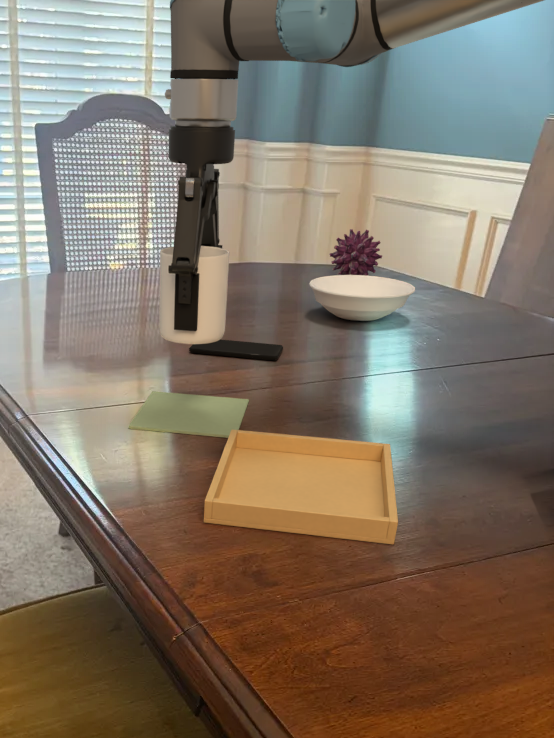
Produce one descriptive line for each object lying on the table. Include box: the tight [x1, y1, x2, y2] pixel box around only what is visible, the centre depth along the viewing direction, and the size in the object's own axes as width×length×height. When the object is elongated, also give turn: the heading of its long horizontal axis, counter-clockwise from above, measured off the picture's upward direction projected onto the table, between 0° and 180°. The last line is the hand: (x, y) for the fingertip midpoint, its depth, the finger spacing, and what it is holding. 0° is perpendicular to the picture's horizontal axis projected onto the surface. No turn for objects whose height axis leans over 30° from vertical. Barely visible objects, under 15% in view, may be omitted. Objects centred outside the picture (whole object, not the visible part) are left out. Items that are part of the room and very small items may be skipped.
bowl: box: [308, 274, 416, 322], centre depth 149 cm, size 20×20×6 cm
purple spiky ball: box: [329, 228, 383, 276], centre depth 179 cm, size 12×12×12 cm
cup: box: [158, 246, 230, 345], centre depth 96 cm, size 8×12×10 cm
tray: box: [203, 429, 399, 545], centre depth 84 cm, size 19×20×2 cm
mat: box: [128, 390, 250, 439], centre depth 104 cm, size 14×14×1 cm
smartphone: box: [188, 338, 284, 361], centre depth 130 cm, size 7×1×15 cm
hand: (194, 317), depth 98 cm, fingers closed on cup, 12 cm apart
